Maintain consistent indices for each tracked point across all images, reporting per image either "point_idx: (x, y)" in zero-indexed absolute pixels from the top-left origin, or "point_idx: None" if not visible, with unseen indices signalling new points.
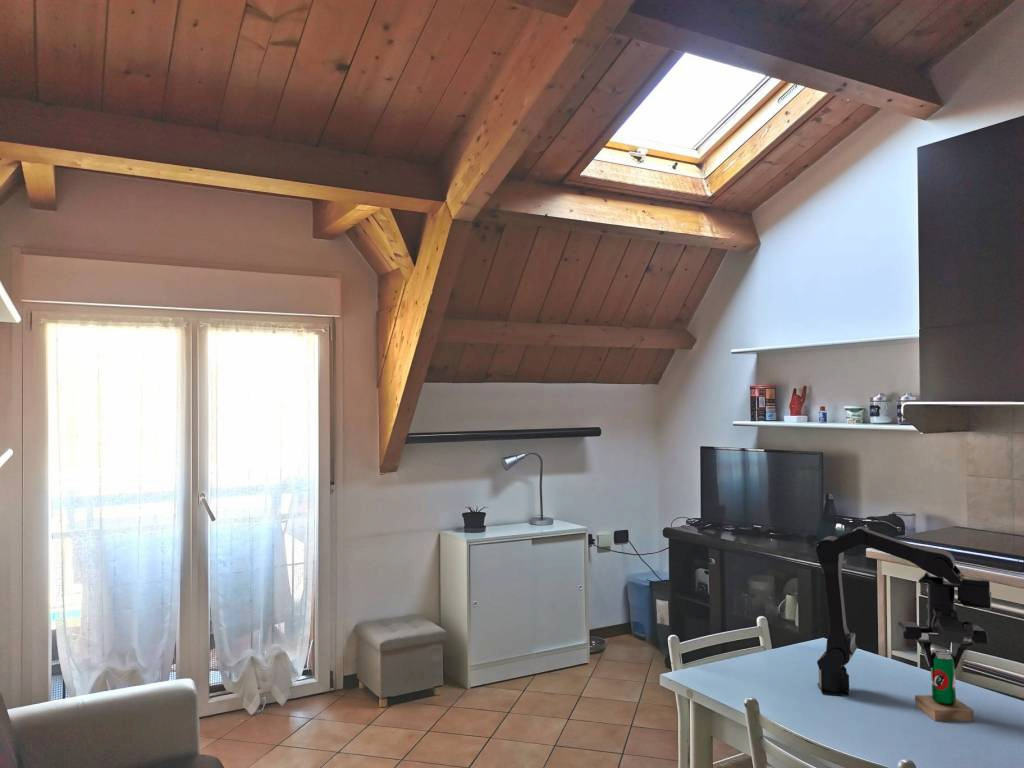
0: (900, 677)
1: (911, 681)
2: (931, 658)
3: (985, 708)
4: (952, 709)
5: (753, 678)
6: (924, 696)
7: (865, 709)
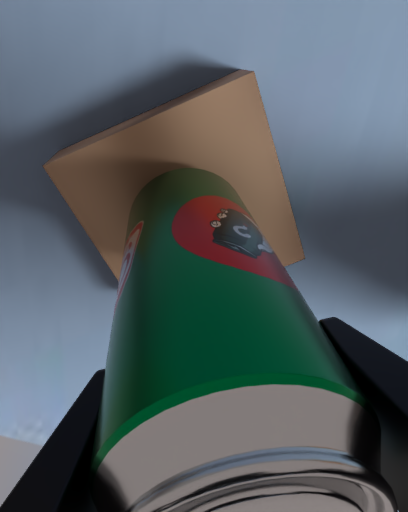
0: None
1: None
2: (384, 388)
3: (23, 315)
4: (152, 130)
5: None
6: None
7: None
